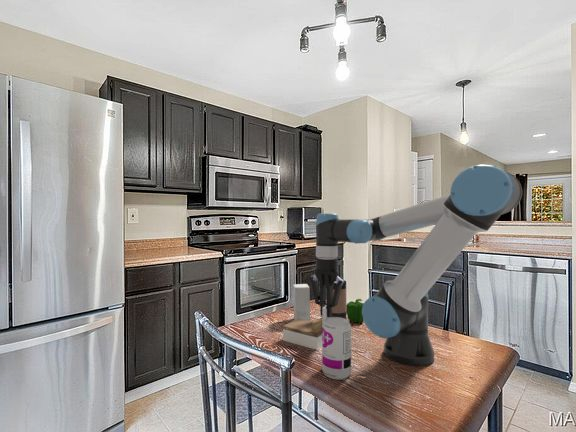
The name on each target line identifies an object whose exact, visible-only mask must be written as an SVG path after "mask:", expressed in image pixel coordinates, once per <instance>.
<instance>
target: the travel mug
mask: <svg viewBox="0 0 576 432" xmlns="http://www.w3.org/2000/svg"><path fill="white" fill-rule="evenodd" d="M335 287H336V281H335V282H334V286H333V295H334V291H335ZM331 317H341V318H345V319H347V280H345V282H344V284H343V285H342V288H341V292H340V296H339V300H338V304H337V306H335V307H332V316H331Z"/></svg>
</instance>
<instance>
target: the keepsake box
mask: <svg viewBox="0 0 576 432" xmlns="http://www.w3.org/2000/svg"><path fill="white" fill-rule="evenodd" d="M282 341H283V342H288V343H291V344H294V345H298V346H301V347H306V348H309V349H312V350H319V349H320V348H322V334H320V335H319V336H312V335H309V334H304V333H300V332H296V331H293V330H289V329H285V328H283V329H282Z"/></svg>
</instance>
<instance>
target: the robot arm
mask: <svg viewBox="0 0 576 432" xmlns="http://www.w3.org/2000/svg"><path fill="white" fill-rule="evenodd" d="M522 197H523V188H522V184H521V182H520V181H519V180H518V178H517V177H516V176H514V175H513V174H512V173H510V172H508V171H506V170H505V169H503V168H501V167H499V166H496V165H493V164H478V165H477V164H476V165H472V166H470V167H467V168H465V169H463V171H461V172H460V173H459V174H457V175H456V177H455V178H454V180H453V181H452V184H451V186H450V194H446V195H444V196H440V197H437V198H434V199H431V200H427V201H425V202H422V203H419V204H415V205H412V206H409V207H406V208H402V209H400V210H397V211H393V212H390V213H387V214H383V215H380V216H377V217H374V218H370V219H361V218H360V219H358V218H357V219H354V218H353V219H350V218H349V219H339V214H338V213H325V212H324V213H322V212H320V213H318V214H316V221H315V223H316V224H315V234H316V235H315V239H316V240H315V241H316V244H315V257H316V259H315V268H316V269H315V272H314V274H313V275H310V276H309V277H308V279H309V281H310V283H311V286H312V287H311V288H312V294H313V297H314V302H315V304H316V305H318V306H319V307H320V311H319V312H320V316H322V317H321V318H322V325H323V323H324V320H325V319H326V318H329V317H331V316H332V307H335V306H337V304H338V300H339V296H340V292H341V288H342V285H343V284H344V282H345V281H346V280H345V279H343V278H342V277H340V276H339V273H338V268H339V266H338V265H339V263H338V256H339V255H338V253H339V252H338V250H339V249H338V248H339V247H338V244H339V242H342V243H343V242H344V243H352V244H356V245H357V244H367V243H368V242H371V241H374V242H377V241H381V240H384V239H385V238H388V237H392V236H396V235H401V234H404V233H408V232H412V231H416V230H420V229H424V228H428V227H432V226H433V227H432V229H431V230H430V232H429V233H428V234H427V236H426V237H425V238H424V240H423V241H422V242H421V243H420V245H419V246H418V247H417V248H416V250H415V251H414V253H412V255H411V257H410V258H409V260H408V261H407V262H406V264H405V265H404V266H403V267H402V269H401V270H400V271H399V272H398V274H397V275H396V276H395V278H394V279H393V280H386V281H385V282H384V283H383V285H382V286H381V287H380V289H378V291H377V293H376V294H375V295H372V296H370V297H368V298H367V299H366V300H365V301H364V302H363V303H364V304H363V307H362V315H363V320H364V321H363V323H364V325H365V326H366V328H367V329H368V330H369V331H370V333H372V334H373V335H375V336H376V337H379V338H382V339H385V342H384V346H383V351H384V352H383V353H384V355H385V356H386V357H387V358H388V359H390V360H391V361H393V362H396V363H399V364H403V365H407V366H416V367H417V366H418V367H419V366H420V367H421V366H427V365H430V364H432V363H433V362H434V361H435V351H434V347H433V345H432V342H431V338H430V335H429V299H430V298H429V291H430V290H431V288H432V287H433V286H434V285H435V283H436V282H437V281H438V280H439V279H440V277H441V276H442V275H443V274H444V273H445V271H446V270H447V269H448V268H449V266H450V265H451V264H452V263H453V262H454V261H455V259H456V258H458V256H459V255H460V254H461V252H462V251H463V250H464V249H465V247H467V245H468V244H469V243H470V241H471V240H472V239H473V238H474V237H475V236H476V234H478V233H483V232H484V233H485V232H488V231H489V229H490V228H491V227H492V226H493V225H494V224H495V223H496V221H497V220H498V219H499V218H500V217H501V215H502V216H503V215H504V214H507V213H509V212H511V211H513V210H514V209H515V208H516V207H517V206H518V205H519V203H520V202H521V199H522ZM335 281H336V287H335V291H334V295H333V286H334V282H335Z"/></svg>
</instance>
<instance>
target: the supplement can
mask: <svg viewBox="0 0 576 432" xmlns="http://www.w3.org/2000/svg"><path fill="white" fill-rule="evenodd" d="M350 323H351V322H350V321H349V319H348V318H346V319H345V318H341V317H329V318H326V319H325V320H324V323H323V325H322V347H321V350H322V351H321V357H322V358H321V360H322V362H321V363H322V364H321V369H322V373H323V374H324V376H325V377H327V378H329V379H332V380H345V379H347V378H348V377H349V376H351V374H352V325H351V324H350Z"/></svg>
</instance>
